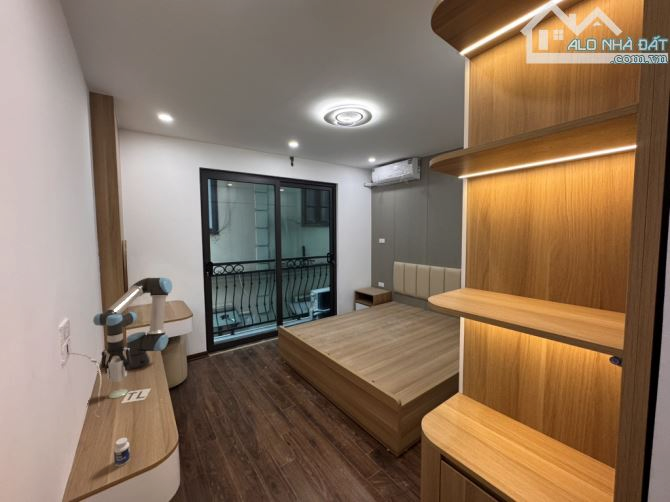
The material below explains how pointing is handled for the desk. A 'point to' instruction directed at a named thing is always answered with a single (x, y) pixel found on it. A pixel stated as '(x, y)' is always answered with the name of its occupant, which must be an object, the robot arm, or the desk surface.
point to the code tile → (136, 395)
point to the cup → (116, 369)
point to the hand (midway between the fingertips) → (117, 376)
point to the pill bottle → (121, 452)
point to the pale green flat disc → (118, 393)
